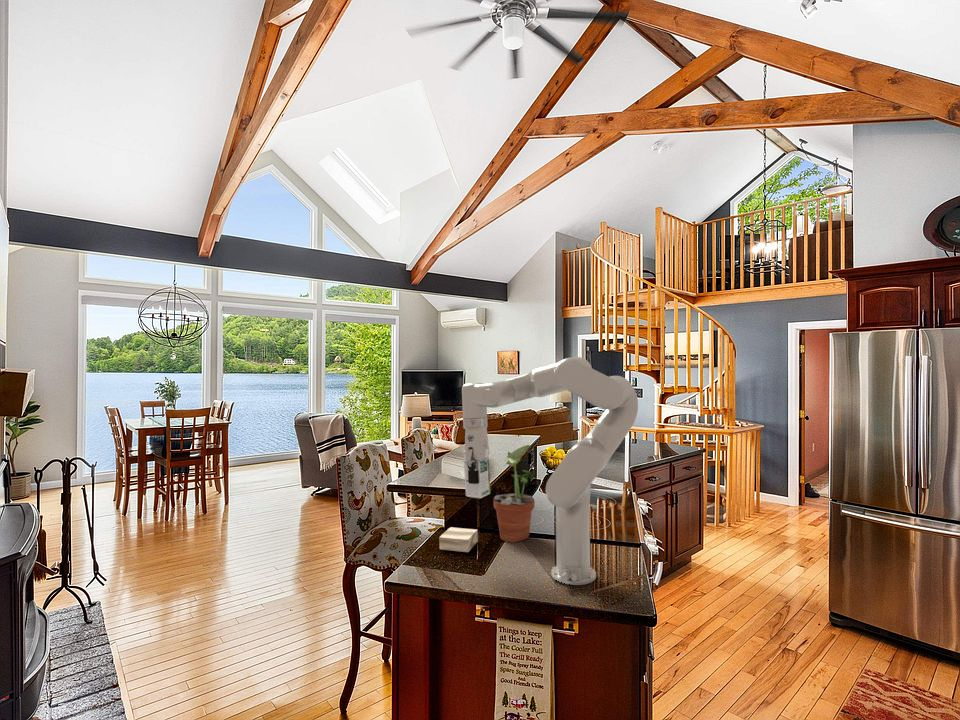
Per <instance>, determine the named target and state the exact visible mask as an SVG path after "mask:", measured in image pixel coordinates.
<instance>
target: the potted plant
mask: <svg viewBox="0 0 960 720" xmlns="http://www.w3.org/2000/svg"><path fill="white" fill-rule="evenodd" d="M530 446H531V445H530V444H527V445H523V446H520V447H519V448H517V449H515V450H514V451H512V452H509V451H508V452H507V456H506V458H507V459H506V460H505V462H504V465H508V466H510V467H513V471H514V474H511V478H513V479H514V493H504V494H496V495H495V496H494V497H493V508H494V509H495V511H496V518H497V523H498V524H497V525H498V531H499V537H500V538H499V539H501V540H502V541H504V542H508V543H509V542H510V543H516V542H521V541H525V540H526V539H528V538H529V537H530V529H531V519H532V511H533V510H534V509H535V498H534V497H533V496H531V495H529V494H525V493H524V489H525V484H527V483H528V482H529V480H533V479H534V478H535V475H534V474H533V472H532V471H530V470H525V469H521V471H522V472H523V473H524V474H519V475H518V471H517V465H518V464H519V463H520V462H521V461H522V458H523V456H524V455H525V454H526V453H527V451H528V449H529V448H530ZM519 478H520V483H523V484H522V489H521V493H520V486H519ZM528 479H529V480H528Z"/></svg>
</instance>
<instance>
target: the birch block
mask: <svg viewBox="0 0 960 720" xmlns="http://www.w3.org/2000/svg"><path fill="white" fill-rule="evenodd" d="M478 536H479V533H478V529H474V528H465V527H464V528H462V527H453V526H451V527H449V528H447V530H445V531H444V532H443V533H442V534H441V535H440V536H439V538H438V539H439V540H438V542H439V550H443V551H453V552H463V553H469V552H470V551H471V550H472V549H473V548H474V547H475V545H476V544H477V543H478V542H479V537H478Z"/></svg>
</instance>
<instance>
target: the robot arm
mask: <svg viewBox="0 0 960 720" xmlns="http://www.w3.org/2000/svg"><path fill="white" fill-rule="evenodd" d="M566 391H567V392H570V393H571V394H573V395H575V396H576V397H578V398H580V399H582V400H583V401H586V402H587V403H589V404H591V405H593V406H594V407H597V408H599V409H602V410H604V411H603V412H602V414H601V415H600V416H599V418H598V419H597V420H596V422H595V424H593V425H594V426H593V427H592V428H591V429H590V431H589V432H588V433H587V434H586V436H584V437H583V438H582V439H581V440H579V441H577V443H575V444H574V445H573V446H572V447H571V448H570V449H569V450H568V452H567V453H566V455H565V456H564V457H563V458H562V460H561V461H560V463H559V464H558V465H557V467H556V468H555V469H554V470H553V473H552V474H551V475H550V476H549V478H548V479H547V481H546V485H545V494H546V497H547V500H548V501H549V503H551V505H552V506H554V507H555V542H556V543H555V547H556V548H555V550H556V551H555V553H556V558H555V559H556V565H555V566H554V567H552V569H551V578H552V579H554V580H555V581H556V580H557V582H558V581H559V582H558V583H561V582H562V583H561V584H564V583H565V584H564V585H569V584H570V585H571V586H583V585H588V584H591V583H592V582H594V581H595V580H596V579H597V572H596V571H595V570H596V569H594V568H592V567H591V539H590V537H591V535H590V529H591V528H590V517H591V515H590V513H591V512H590V508H591V507H590V505H591V504H590V503H591V502H590V501H591V490H592V483H593V482H594V480H595V479H596V477H597V476H598V475H599V474H600V473H601V471H603V469H604V468H605V467H606V466H607V464H608V463H609V462H610V459H611V458H612V456H613V454H614V453H615V452H616V451H617V449H618V448H619V447H620V445H621V443H622V442H623V440H624V439H625V438H626V436H627V435H628V433H629V432H630V430H631V429H632V427H633V425H634V423H635V421H636V420H637V419H636V418H637V416H638V411H639V410H638V409H639V401H638V400H639V399H638V396H637V395H638V394H637V393H636V389H635V388H634V386H633V384H632V383H631V382H630V381H629V380H628V379H627V378H625V377H623V376H621V375H610V376H609V375H608V376H607V375H606V374H604V373H602V372H600V371H598V370H595V368H592V365H591V363H590V362H589V361H588V360H587V359H586V358H584V357H581V356H573V357H572V356H571V357H567V358H564V359H562V360H559V361H558V362H554V363H550V364H546V365H544V366H540V367H536V368H534V369H532V370H530V371H529V372H528V373H526V374H523V375H520V376H516V377H511V378H509V379H505V380H501V381H500V380H499V381H493V382H489V383H482V382H468V383H464V384H463V385H462V387H461V403H462V404H461V405H462V424H463V425H462V428H463V429H464V430H465V432H464V434H465V435H464V450H465V457H466V462H467V466H468V483H469V484H478V483H479V470H477V468H478V461H482V460H484V459H485V453H486V452H485V451H486V450H485V449H486V448H488V456H489V455H490V448H489V436H488V408H491V409H496V408H499V407H502V406H506V405H509V404H514V403H517V402H520V401H521V402H522V401H525V400H528V399H532V398H543V397H547V396H551V395H555V394H557V393H558V394H559V393H562V392H566ZM473 458H476V460H472V459H473ZM474 463H475V465H474ZM570 585H569V586H570Z"/></svg>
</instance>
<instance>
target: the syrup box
mask: <svg viewBox="0 0 960 720" xmlns="http://www.w3.org/2000/svg"><path fill="white" fill-rule="evenodd" d="M485 450H486V451H485V452H486V453H485V459H484V460H482V461H478V468H477V470H479V483H478V484H469V483H468V466H467V462H466V457H465V449H464V450H463V469H464V484H465V486H464V487H465V496H466V497H468V498H473V499H482V498H484V497H486V496H488V495H490V494H491V479H490V478H491V476H490V475H491V473H490V460H489V456H488V448H486V449H485ZM472 460H476V458H473V459H472ZM474 465H475V463H474Z"/></svg>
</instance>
